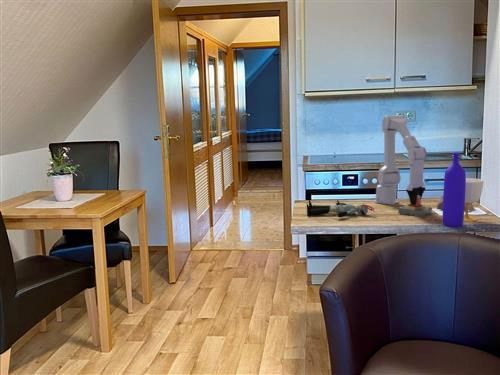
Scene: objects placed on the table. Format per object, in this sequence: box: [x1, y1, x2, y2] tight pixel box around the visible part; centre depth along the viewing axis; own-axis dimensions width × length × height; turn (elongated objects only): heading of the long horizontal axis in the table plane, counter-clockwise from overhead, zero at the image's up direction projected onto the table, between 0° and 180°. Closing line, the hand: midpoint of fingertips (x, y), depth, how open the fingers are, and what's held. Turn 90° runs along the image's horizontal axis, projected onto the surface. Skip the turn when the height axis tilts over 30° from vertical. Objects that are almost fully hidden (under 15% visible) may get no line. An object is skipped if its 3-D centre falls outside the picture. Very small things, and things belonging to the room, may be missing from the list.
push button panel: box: [398, 203, 433, 218], centre depth 233 cm, size 12×9×4 cm
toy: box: [306, 199, 375, 218], centre depth 235 cm, size 26×8×30 cm
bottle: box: [442, 151, 467, 228], centre depth 209 cm, size 8×8×30 cm
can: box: [409, 195, 422, 207], centre depth 233 cm, size 4×4×6 cm
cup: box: [463, 177, 484, 222], centre depth 220 cm, size 12×12×17 cm
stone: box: [436, 195, 475, 212], centre depth 241 cm, size 17×10×10 cm
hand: (415, 203), depth 233 cm, fingers closed on can, 4 cm apart
